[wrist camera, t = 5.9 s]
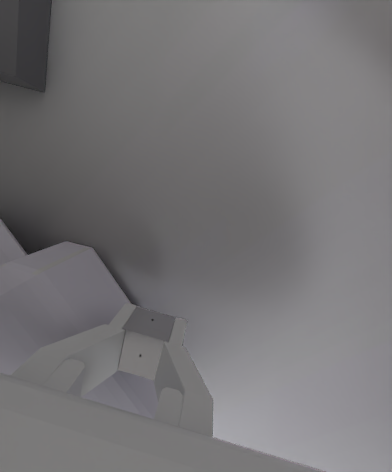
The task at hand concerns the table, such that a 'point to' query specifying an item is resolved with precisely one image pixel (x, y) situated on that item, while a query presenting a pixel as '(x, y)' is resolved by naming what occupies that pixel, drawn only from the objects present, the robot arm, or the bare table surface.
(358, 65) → the table surface
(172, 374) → the robot arm
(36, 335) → the charger
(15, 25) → the gauge scale
